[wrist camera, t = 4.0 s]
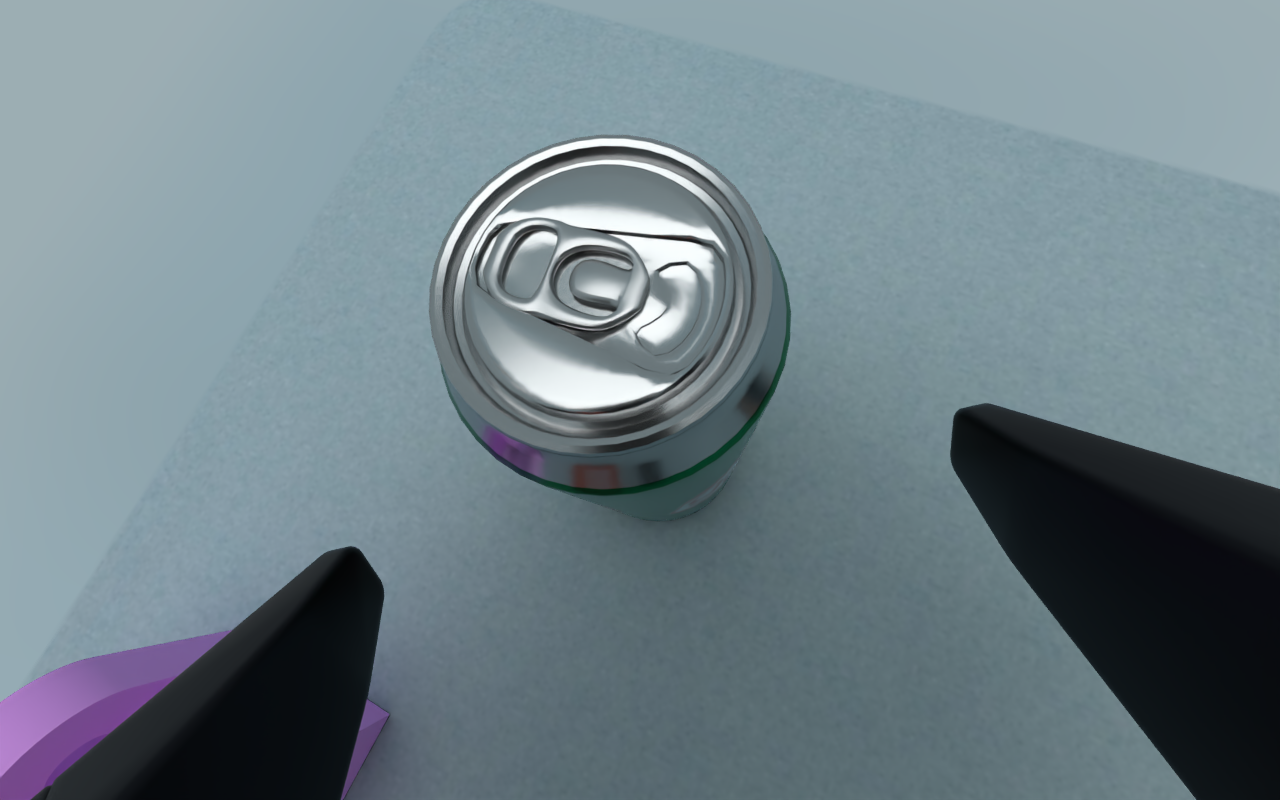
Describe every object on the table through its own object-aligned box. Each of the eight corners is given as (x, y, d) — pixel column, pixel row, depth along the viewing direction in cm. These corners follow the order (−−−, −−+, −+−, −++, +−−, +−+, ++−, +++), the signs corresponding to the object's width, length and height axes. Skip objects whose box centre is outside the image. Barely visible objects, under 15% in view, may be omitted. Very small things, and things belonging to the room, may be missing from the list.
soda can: (710, 543, 17) (737, 552, 6) (564, 493, 18) (331, 411, 7) (754, 396, 18) (852, 151, 7) (614, 355, 19) (488, 77, 8)
